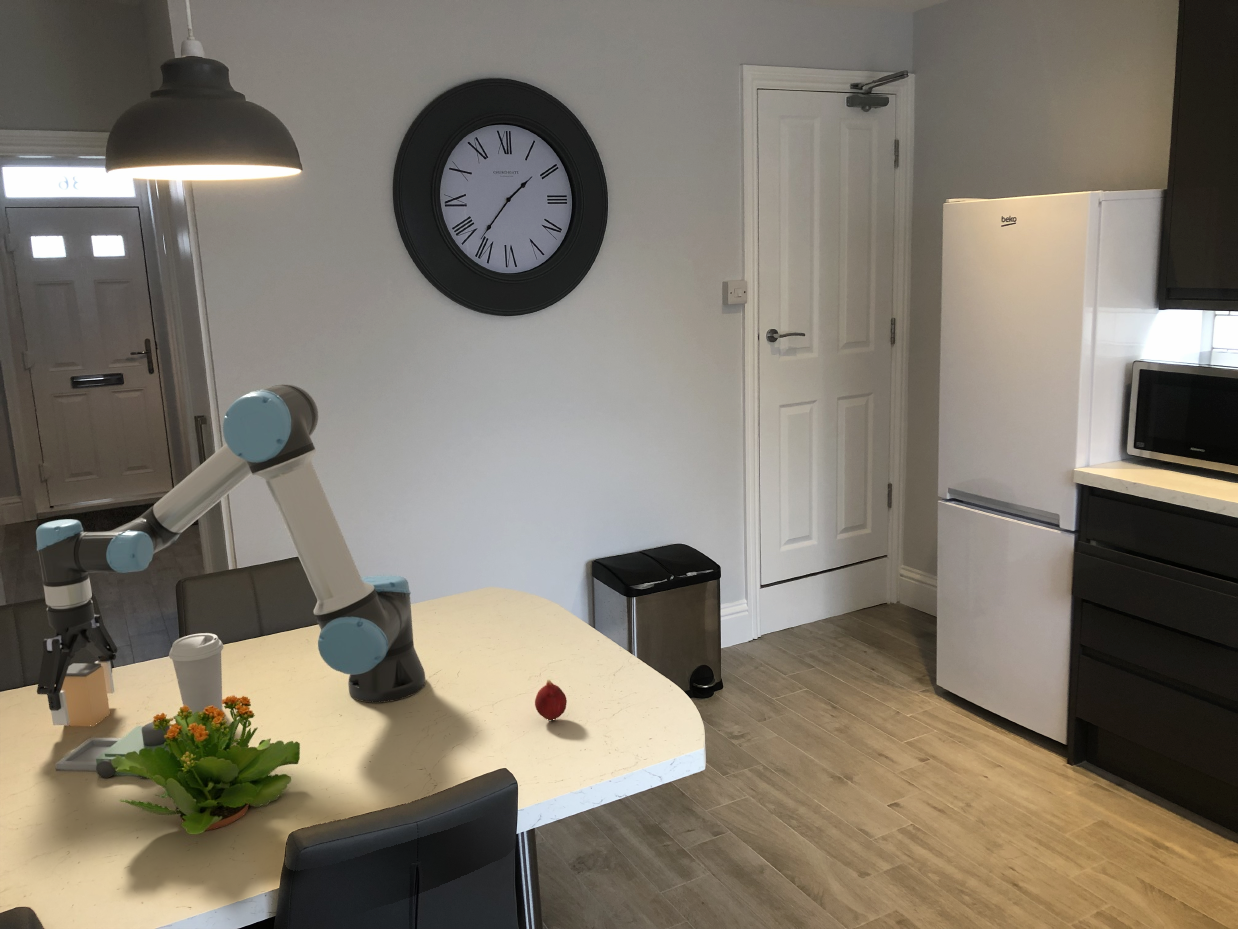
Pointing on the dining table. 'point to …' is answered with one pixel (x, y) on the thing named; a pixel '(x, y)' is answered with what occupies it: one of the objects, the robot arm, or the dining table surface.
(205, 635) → the coffee cup
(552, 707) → the onion
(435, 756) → the dining table surface
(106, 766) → the wheeled tray
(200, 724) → the potted flower
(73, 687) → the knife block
